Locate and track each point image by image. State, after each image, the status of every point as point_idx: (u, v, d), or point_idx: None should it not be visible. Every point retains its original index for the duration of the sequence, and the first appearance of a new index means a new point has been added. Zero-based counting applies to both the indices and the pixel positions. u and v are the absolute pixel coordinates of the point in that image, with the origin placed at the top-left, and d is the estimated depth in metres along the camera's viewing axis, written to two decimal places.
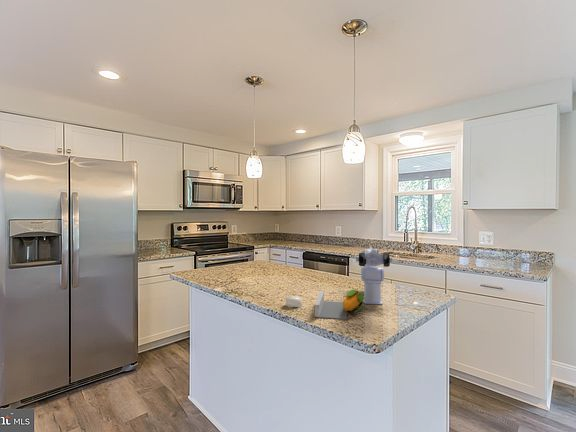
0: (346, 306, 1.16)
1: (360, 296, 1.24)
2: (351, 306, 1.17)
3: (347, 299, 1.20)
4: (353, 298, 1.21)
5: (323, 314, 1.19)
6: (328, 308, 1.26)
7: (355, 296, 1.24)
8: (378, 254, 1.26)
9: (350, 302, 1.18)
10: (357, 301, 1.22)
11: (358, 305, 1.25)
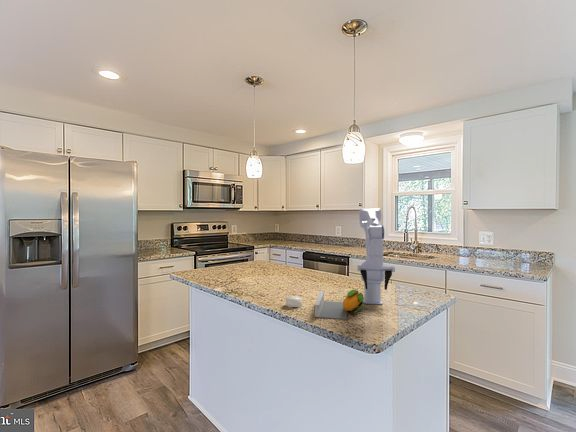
0: (346, 306, 1.16)
1: (360, 296, 1.24)
2: (351, 306, 1.17)
3: (347, 299, 1.20)
4: (353, 298, 1.21)
5: (323, 314, 1.19)
6: (328, 308, 1.26)
7: (355, 296, 1.24)
8: (381, 269, 1.20)
9: (350, 302, 1.18)
10: (357, 301, 1.22)
11: (358, 305, 1.25)
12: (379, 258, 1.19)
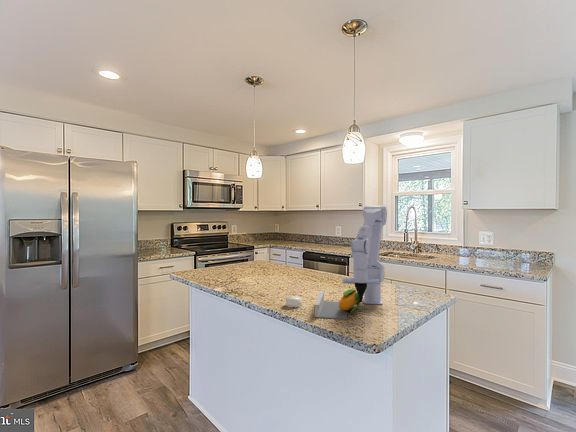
0: (341, 306, 1.16)
1: (356, 295, 1.25)
2: (347, 305, 1.18)
3: (343, 299, 1.20)
4: (349, 297, 1.22)
5: (323, 314, 1.19)
6: (328, 308, 1.26)
7: (351, 295, 1.24)
8: None
9: (346, 301, 1.18)
10: (353, 300, 1.23)
11: (355, 304, 1.26)
12: (364, 271, 1.21)
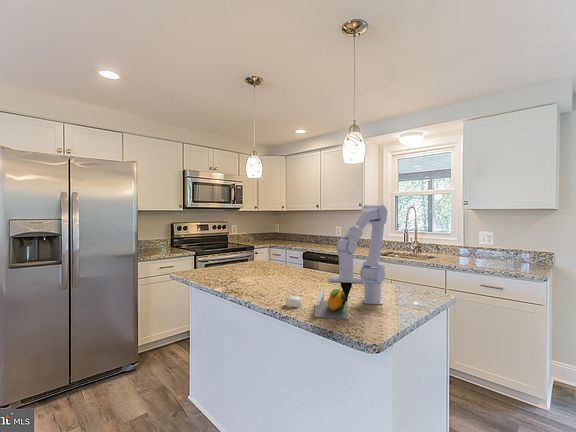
0: (332, 306, 1.16)
1: (343, 294, 1.26)
2: (336, 305, 1.18)
3: (331, 299, 1.20)
4: (337, 297, 1.22)
5: (323, 314, 1.19)
6: (328, 308, 1.26)
7: (338, 295, 1.25)
8: (351, 281, 1.22)
9: (335, 301, 1.18)
10: (341, 299, 1.23)
11: (342, 303, 1.26)
12: (349, 271, 1.22)
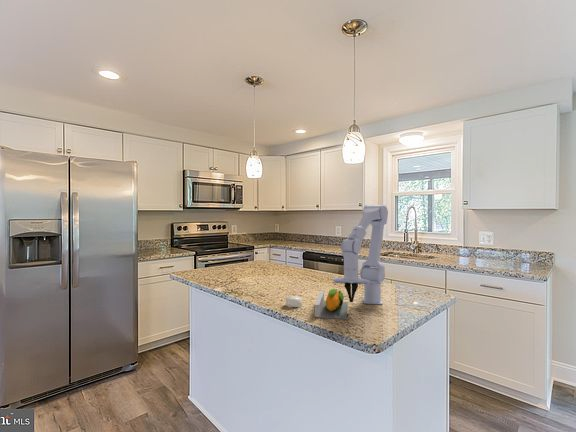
0: (330, 306, 1.16)
1: (341, 294, 1.26)
2: (335, 305, 1.18)
3: (330, 299, 1.20)
4: (335, 297, 1.22)
5: (323, 314, 1.19)
6: None
7: (336, 295, 1.25)
8: None
9: (333, 302, 1.18)
10: (339, 300, 1.23)
11: None
12: (354, 271, 1.22)
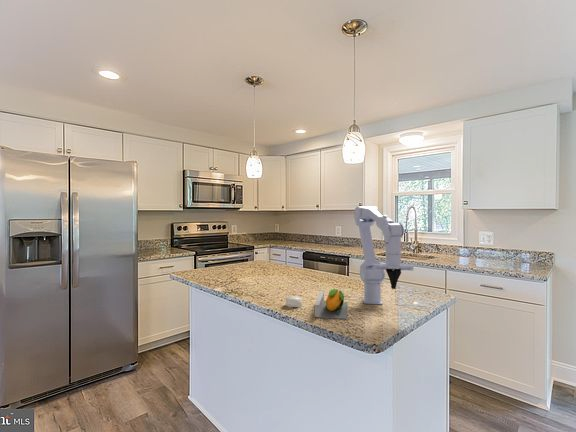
0: (330, 306, 1.16)
1: (341, 294, 1.26)
2: (335, 305, 1.18)
3: (330, 299, 1.20)
4: (335, 297, 1.22)
5: (323, 314, 1.19)
6: None
7: (336, 295, 1.25)
8: (399, 268, 1.17)
9: (333, 302, 1.18)
10: (339, 300, 1.23)
11: None
12: (397, 256, 1.16)
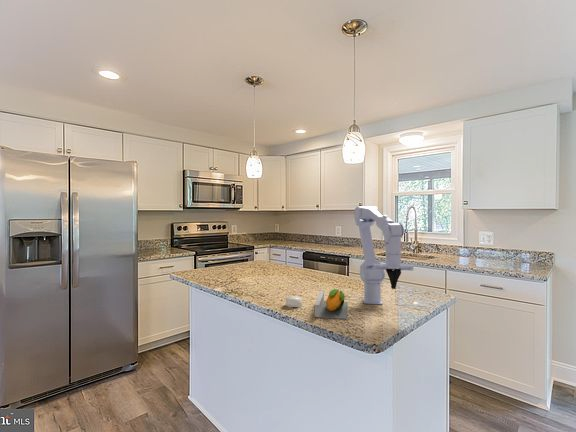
0: (330, 306, 1.16)
1: (341, 295, 1.26)
2: (335, 305, 1.18)
3: (330, 299, 1.20)
4: (335, 297, 1.22)
5: (323, 314, 1.19)
6: None
7: (337, 295, 1.25)
8: (399, 268, 1.17)
9: (333, 302, 1.18)
10: (339, 300, 1.23)
11: None
12: (397, 256, 1.16)
